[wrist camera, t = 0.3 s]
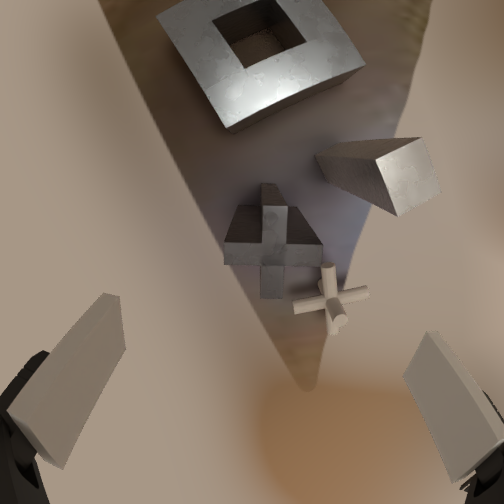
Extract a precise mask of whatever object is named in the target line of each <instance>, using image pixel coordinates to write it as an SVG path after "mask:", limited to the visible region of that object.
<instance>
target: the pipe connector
mask: <svg viewBox="0 0 504 504" xmlns="http://www.w3.org/2000/svg"><path fill="white" fill-rule="evenodd" d="M321 274H322V278H321V279H320V280H319V281H318V287H319V290H320V292H321V294H322V295H318V296H313V297H308V298H303V299H297V300H292V302H293V308H294V313H295V314H299V313H304V312H310V311H315V310H320V309H325V314H326V325H327V333H328V334H329V335H336V334H338V333H339V332H340V327H343V326H345V325H346V324H347V322H348V317H347V315H346V313H345V311H344V309H343V307H342V305H343V304H348V303H353V302H357V301H362V300H366V299H369V296H370V295H369V289H368V287H367V286H361V287H357V288H352V289H348V290H343V291H338V292H337V281H336V270H335V264H334V263H332V262H326V263H323V264H322V265H321Z"/></svg>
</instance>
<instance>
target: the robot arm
mask: <svg viewBox="0 0 504 504" xmlns="http://www.w3.org/2000/svg"><path fill="white" fill-rule="evenodd" d="M125 350H126V347H125V340H124V333H123V324H122V317H121V307H120V297H119V296H115V295H111V294H106V293H103V294H102V295H101V296H100V297H99V298H98V299H97V300H96V301H95V302H94V303H93V305H92V306H91V307H90V308H89V309H88V310H87V311H86V312H85V313H84V314H83V316H82V317H81V318H80V319H79V320H78V321H77V322H76V323H75V325H74V326H73V327H72V328H71V329H70V330H69V331H68V333H67V334H66V335H65V336H64V337H63V338H62V340H61V341H60V342H59V343H58V344H57V346H56V347H55V348H54V349H53V351H52V352H51V353H49V352H46V351H44V350H43V351H41V352H39V353H38V354H36V355H34V356H33V357H31V358H30V360H29V361H28V362H27V363H26V364H25V365H24V368H23V369H21V370H20V372H19V373H18V374H17V376H16V377H15V378H14V379H13V380H12V382H11V383H10V384H9V385H8V387H7V388H6V389H5V390H4V392H3V393H2V395H1V396H0V504H50V503H49V500H48V497H47V495H46V492H45V489H44V486H43V482H42V479H41V476H40V473H39V469H38V466H37V463H36V460H35V458H34V457H35V455H36V453H37V452H38V454H39V455H40V456H41V457H42V458H43V460H44V461H46V462H48V463H50V464H52V465H54V466H56V467H58V468H60V469H62V470H63V469H64V466H65V464H66V462H67V460H68V458H69V456H70V454H71V452H72V449H73V447H74V445H75V443H76V441H77V439H78V437H79V435H80V433H81V431H82V429H83V427H84V425H85V423H86V421H87V419H88V417H89V415H90V413H91V411H92V410H93V408H94V406H95V404H96V402H97V400H98V398H99V396H100V394H101V393H102V391H103V389H104V387H105V385H106V383H107V382H108V380H109V378H110V376H111V374H112V373H113V371H114V369H115V367H116V366H117V364H118V362H119V360H120V359H121V357H122V355H123V353H124V351H125ZM403 378H404V380H405V382H406V384H407V386H408V387H409V390H410V392H411V393H412V396H413V398H414V400H415V402H416V404H417V406H418V408H419V410H420V412H421V414H422V416H423V418H424V420H425V422H426V424H427V427H428V429H429V431H430V433H431V435H432V437H433V440H434V442H435V444H436V446H437V448H438V451H439V453H440V456H441V458H442V460H443V463H444V465H445V468H446V470H447V472H448V475H449V477H450V480H451V483H454V482H457V481H459V480H461V479H463V478H465V477H466V476H468V475H469V474H470V473H471V472H472V471H474V470H475V471H476V474H475V475H473V476H472V477H471V478H470V479H469V480H467V481H466V482H465V483H464V484H463V485H461V487H460V490H462V489H463V488H464V487H466V486H467V485H468V484H470V486H468V487H467V488H466V489H465V490H464V491H466V492H468V494H467V497H466V501H465V504H504V420H503V418H502V416H501V415H500V413H499V412H497V409H496V407H495V405H493V402H492V401H491V400H490V398H489V397H488V395H487V394H486V393H485V392H484V391H482V390H481V389H480V387H479V386H478V384H477V383H476V381H475V380H474V379H473V377H472V376H471V374H470V373H469V372H468V370H467V369H466V368H465V366H464V365H463V364H462V362H461V361H460V359H459V358H458V357H457V355H456V354H455V353H454V351H453V350H452V349H451V348H450V346H449V345H448V344H447V342H446V341H445V340H444V339H443V338H442V336H441V335H440V334H439V332H434V331H432V332H430V331H429V332H427V331H426V333H425V335H424V337H423V339H422V341H421V343H420V345H419V347H418V349H417V351H416V353H415V355H414V357H413V359H412V360H411V362H410V364H409V366H408V368H407V369H406V371H405V373H404V375H403Z"/></svg>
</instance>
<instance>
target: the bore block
mask: <svg viewBox="0 0 504 504" xmlns="http://www.w3.org/2000/svg"><path fill="white" fill-rule="evenodd" d="M156 18H157V19H158V21H159V22H160V24H161V25H162V27H163V28H164V30H165V31H166V33H167V34H168V36H169V37H170V39H171V40H172V42H173V43H174V45H175V47H176V48H177V50H178V51H179V53H180V54H181V56H182V57H183V59H184V61H185V62H186V64H187V65H188V67H189V68H190V70H191V72H192V73H193V75H194V76H195V78H196V80H197V81H198V83H199V84H200V86H201V88H202V89H203V91H204V93H205V94H206V96H207V97H208V99H209V101H210V102H211V104H212V106H213V107H214V109H215V111H216V112H217V114H218V116H219V117H220V119H221V121H222V122H223V124H224V126H225V127H226V129H228V130H229V131H230V132H231V133H233V134H236V133H238V132H239V131H241V130H243V129H245V128H247V127H249V126H251V125H253V124H254V123H256V122H258V121H260V120H262V119H264V118H266V117H268V116H270V115H272V114H274V113H276V112H278V111H280V110H282V109H284V108H286V107H289V106H291V105H293V104H295V103H297V102H299V101H301V100H304V99H306V98H308V97H310V96H313V95H315V94H317V93H320V92H322V91H324V90H327V89H329V88H331V87H334V86H336V85H339V84H341V83H343V82H344V81H346V80H347V79H348V78H350V77H351V76H352V75H353V74H355V73H356V72H357V71H359V70H360V69H361V68H363V67H364V66H365V65H366V64H365V62H364V60H363V59H362V57H361V56H360V54H359V52H358V51H357V49H356V48H355V46H354V45H353V43H352V42H351V40H350V39H349V37H348V36H347V34H346V33H345V31H344V30H343V28H342V27H341V26H340V24H339V23H338V21H337V20H336V19H335V17H334V16H333V15H332V13H331V12H330V11H329V9H328V8H327V7H326V6H325V4H324V3H323V2H322V0H184V1H182V2H180V3H178V4H176V5H174V6H173V7H171V8H169V9H167V10H166V11H164V12H162V13H160V14H159V15H157V16H156ZM268 27H269V28H270V29H271V31H272V32H273V33H274V35H275V36H276V38H277V39H278V40H279V42H280V43H281V45H282V46H283V48H284V49H285V51H284V52H281V53H279V54H277V55H274V56H272V57H270V58H267V59H265V60H263V61H261V62H259V63H257V64H254V65H252V66H250V67H248V68H246V69H244V67H243V66H242V64H241V63H240V61H239V60H238V58H237V57H236V55H235V54H234V52H233V51H232V49H231V48H230V47H229V45H230V44H232V43H234V42H236V41H238V40H241V39H243V38H245V37H247V36H249V35H252V34H254V33H256V32H259V31H261V30H263V29H266V28H268Z"/></svg>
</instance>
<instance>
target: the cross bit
mask: <svg viewBox="0 0 504 504" xmlns="http://www.w3.org/2000/svg"><path fill="white" fill-rule="evenodd" d="M322 251H323V244H322V243H321V241H320V240H319V238H318V237H317V235H316V234H315V232H314V231H313V229H312V228H311V226H310V225H309V224H308V222H307V221H306V219H305V218H304V216H303V215H302V213H301V212H300V211H299V209H298V208H297V207H292V206H287V204H286V202H285V200H284V198H283V197H282V195H281V193H280V191H279V189H278V188H277V186H276V184H268V183H261V206H259V205H238V207H237V209H236V212H235V214H234V217H233V220H232V222H231V225H230V227H229V230H228V233H227V235H226V238H225V240H224V265H259V266H260V298H265V299H282V296H283V282H284V267H285V266H307V267H321V260H322Z"/></svg>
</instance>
